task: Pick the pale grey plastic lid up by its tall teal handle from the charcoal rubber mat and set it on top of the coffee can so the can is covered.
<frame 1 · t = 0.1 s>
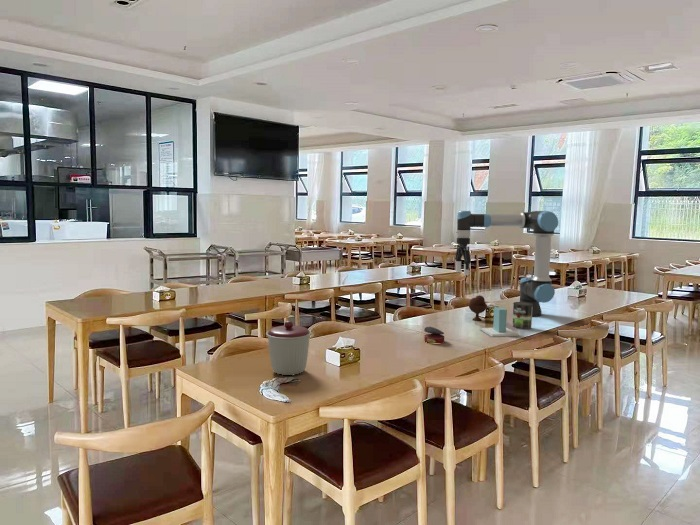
hand: (462, 273, 304), 28 cm above the table, tool pointing down, fingers open, 13 cm apart
canister: (289, 372, 210), on the table
ice cream bowl: (477, 320, 309), on the table
mat: (499, 334, 275), on the table
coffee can: (521, 328, 288), on the table
canned food: (434, 342, 259), on the table
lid: (499, 332, 275), point 1 cm above the table, touching mat
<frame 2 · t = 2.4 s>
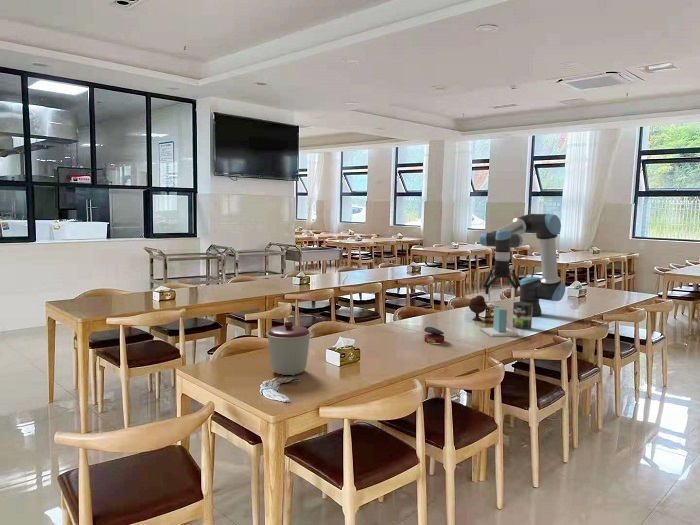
hand: (500, 300, 273), 18 cm above the table, tool pointing down, fingers open, 13 cm apart
nothing on the table moved.
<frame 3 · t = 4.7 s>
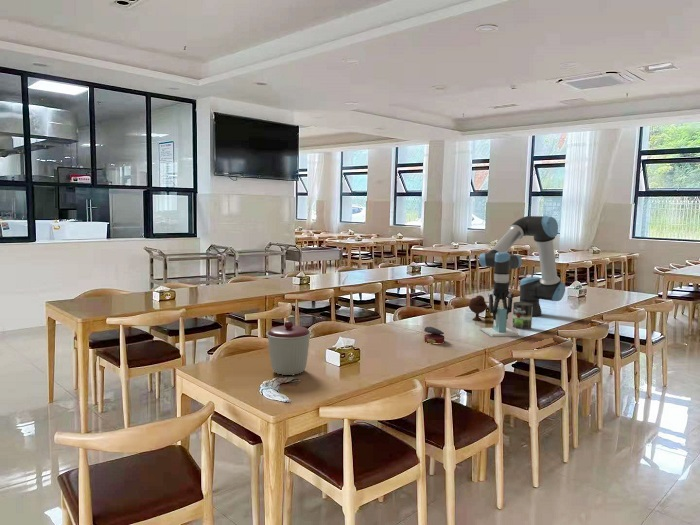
hand: (499, 325, 275), 5 cm above the table, tool pointing down, fingers closed on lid, 4 cm apart
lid: (499, 332, 275), point 1 cm above the table, touching gripper, mat
everything else where it was.
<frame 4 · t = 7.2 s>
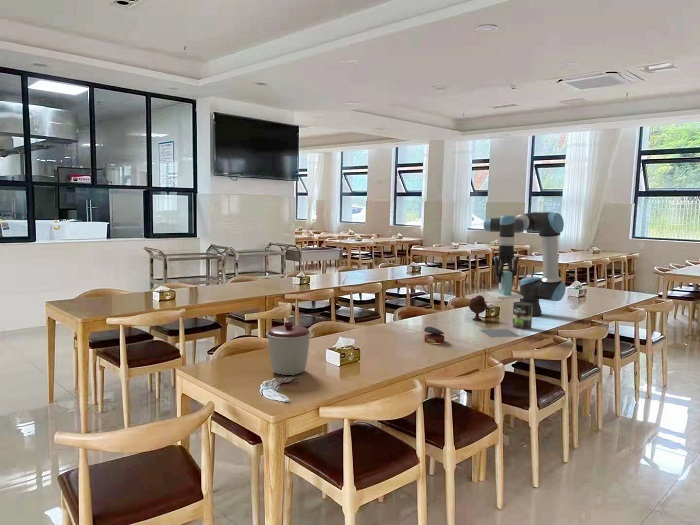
hand: (505, 288, 275), 24 cm above the table, tool pointing down, fingers closed on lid, 4 cm apart
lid: (504, 296, 275), point 20 cm above the table, touching gripper
everything else where it was.
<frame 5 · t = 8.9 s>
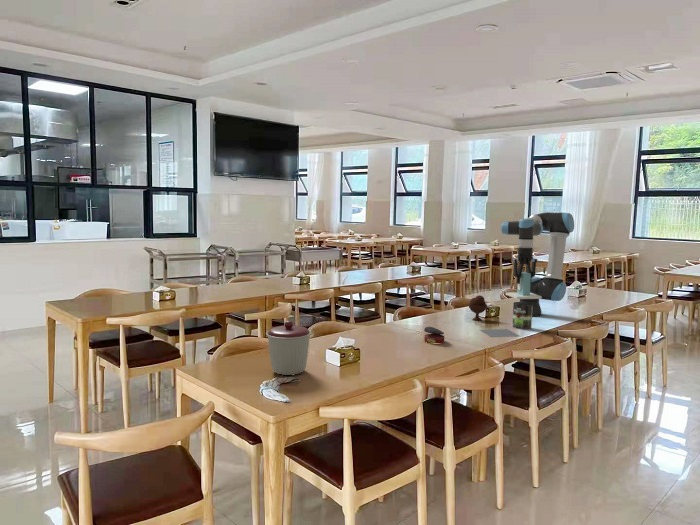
hand: (523, 289, 286), 22 cm above the table, tool pointing down, fingers closed on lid, 4 cm apart
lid: (523, 296, 286), point 18 cm above the table, touching gripper
everything else where it was.
when the fingers open (20 cm above the table, at t = 10.0 s): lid drops 1 cm, resting on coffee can.
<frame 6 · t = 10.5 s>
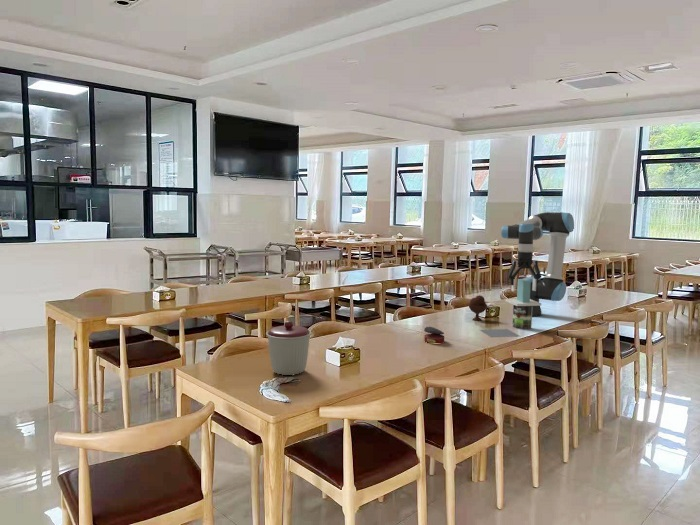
hand: (523, 290, 286), 21 cm above the table, tool pointing down, fingers open, 11 cm apart
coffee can: (521, 328, 288), on the table, touching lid
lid: (523, 303, 287), point 14 cm above the table, touching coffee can
everything else where it was.
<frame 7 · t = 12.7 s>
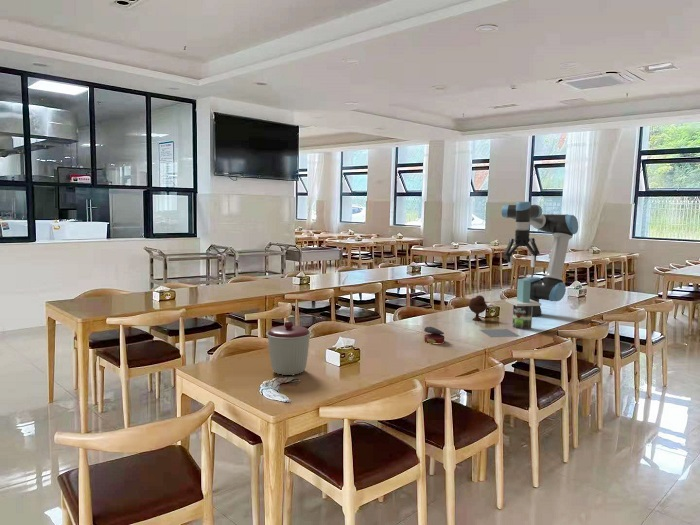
hand: (521, 267, 291), 33 cm above the table, tool pointing down, fingers open, 13 cm apart
nothing on the table moved.
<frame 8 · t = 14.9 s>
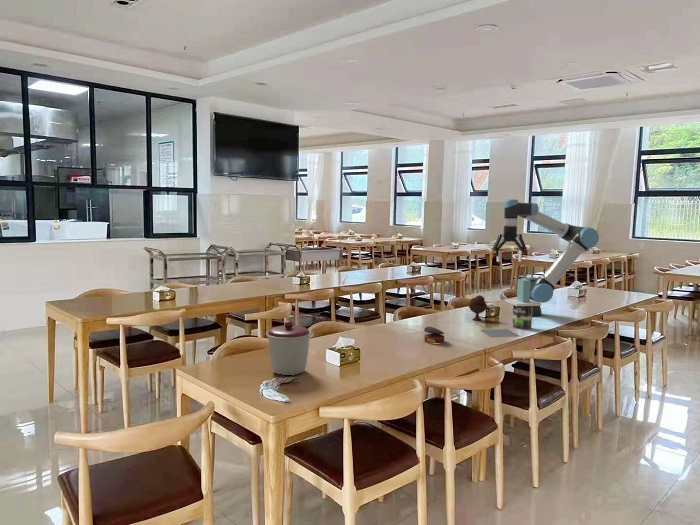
hand: (509, 261, 309), 35 cm above the table, tool pointing down, fingers open, 13 cm apart
nothing on the table moved.
at the end: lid 0.0 cm from the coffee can (horizontally); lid point 14.0 cm above the table; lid tilted 0° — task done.
